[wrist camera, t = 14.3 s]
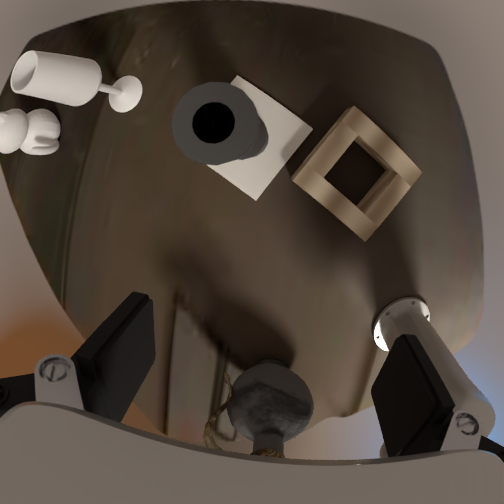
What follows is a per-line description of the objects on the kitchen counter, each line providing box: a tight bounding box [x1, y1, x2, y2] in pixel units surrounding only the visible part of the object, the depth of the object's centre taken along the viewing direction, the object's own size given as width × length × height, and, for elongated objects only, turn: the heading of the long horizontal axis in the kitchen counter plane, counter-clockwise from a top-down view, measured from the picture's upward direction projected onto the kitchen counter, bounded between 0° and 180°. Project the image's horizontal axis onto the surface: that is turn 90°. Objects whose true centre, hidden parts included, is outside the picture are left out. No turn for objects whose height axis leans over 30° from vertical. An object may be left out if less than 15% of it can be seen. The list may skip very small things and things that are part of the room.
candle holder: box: [171, 82, 269, 165], centre depth 29 cm, size 6×6×25 cm
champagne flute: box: [11, 51, 142, 112], centre depth 28 cm, size 7×7×24 cm
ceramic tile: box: [208, 75, 313, 200], centre depth 41 cm, size 14×14×1 cm
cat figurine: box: [0, 109, 61, 155], centre depth 35 cm, size 9×12×15 cm
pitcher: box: [203, 359, 314, 458], centre depth 42 cm, size 11×19×30 cm, turn 57°
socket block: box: [291, 106, 422, 242], centre depth 39 cm, size 14×14×5 cm
